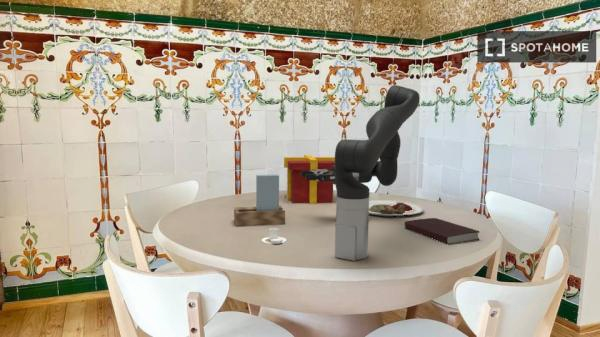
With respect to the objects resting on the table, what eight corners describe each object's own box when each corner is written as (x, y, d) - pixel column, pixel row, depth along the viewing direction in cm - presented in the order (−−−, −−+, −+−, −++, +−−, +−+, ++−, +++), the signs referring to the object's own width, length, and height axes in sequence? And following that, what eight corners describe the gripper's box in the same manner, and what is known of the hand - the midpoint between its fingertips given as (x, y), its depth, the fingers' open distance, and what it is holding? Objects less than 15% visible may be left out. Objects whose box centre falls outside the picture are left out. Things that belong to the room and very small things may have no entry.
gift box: (282, 194, 221) (282, 154, 219) (330, 194, 224) (331, 154, 221) (286, 205, 196) (286, 160, 194) (340, 204, 199) (341, 159, 197)
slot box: (280, 218, 170) (280, 205, 170) (285, 224, 161) (285, 210, 161) (234, 220, 166) (234, 207, 166) (236, 226, 158) (235, 212, 157)
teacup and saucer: (282, 246, 135) (283, 233, 135) (258, 245, 137) (258, 232, 136) (288, 238, 144) (288, 226, 143) (265, 237, 145) (265, 225, 145)
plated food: (337, 208, 190) (337, 201, 190) (384, 201, 208) (385, 194, 208) (390, 222, 166) (390, 214, 166) (438, 212, 184) (438, 204, 184)
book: (446, 246, 137) (446, 235, 137) (403, 229, 157) (404, 219, 157) (479, 241, 143) (480, 231, 143) (434, 226, 163) (435, 216, 162)
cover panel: (277, 221, 166) (277, 174, 163) (278, 223, 163) (279, 175, 160) (256, 222, 164) (256, 174, 162) (257, 224, 161) (257, 175, 159)
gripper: (339, 162, 174) (299, 163, 171) (350, 167, 160) (307, 168, 157) (339, 181, 175) (299, 182, 172) (350, 187, 161) (307, 188, 158)
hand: (303, 175), depth 164 cm, fingers open, 8 cm apart
